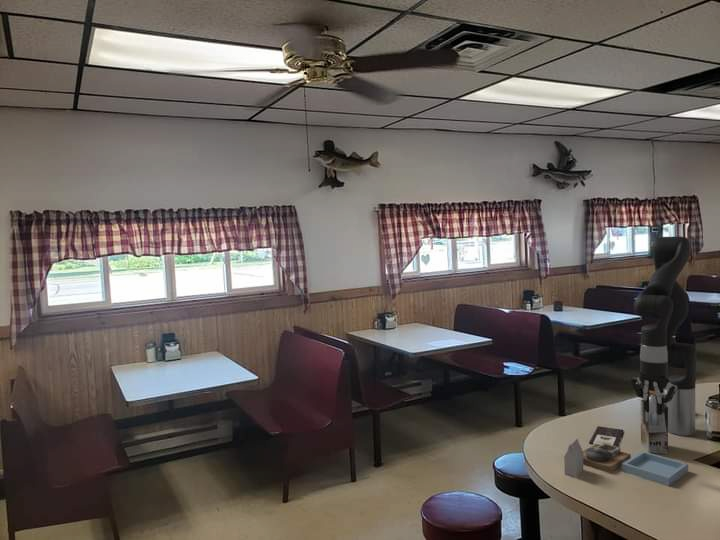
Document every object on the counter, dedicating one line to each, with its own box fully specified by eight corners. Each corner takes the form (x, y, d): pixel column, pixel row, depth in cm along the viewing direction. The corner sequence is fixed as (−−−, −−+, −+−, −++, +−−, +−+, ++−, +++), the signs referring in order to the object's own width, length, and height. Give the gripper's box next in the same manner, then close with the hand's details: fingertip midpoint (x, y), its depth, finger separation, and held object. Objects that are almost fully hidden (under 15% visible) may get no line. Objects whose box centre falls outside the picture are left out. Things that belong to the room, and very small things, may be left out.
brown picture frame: (623, 429, 208) (616, 446, 192) (623, 432, 208) (616, 449, 193) (597, 426, 212) (589, 442, 197) (597, 428, 212) (589, 445, 197)
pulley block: (596, 449, 192) (595, 435, 192) (630, 460, 183) (630, 445, 182) (574, 461, 183) (574, 447, 183) (609, 473, 174) (609, 457, 174)
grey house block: (583, 469, 177) (583, 439, 177) (576, 477, 172) (576, 446, 171) (571, 466, 180) (571, 437, 179) (564, 474, 174) (564, 443, 174)
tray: (642, 458, 184) (642, 451, 183) (688, 471, 173) (688, 464, 172) (622, 471, 175) (621, 463, 175) (668, 486, 164) (668, 478, 164)
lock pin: (651, 421, 175) (650, 387, 174) (661, 424, 172) (661, 389, 172) (646, 424, 173) (646, 389, 172) (657, 426, 170) (656, 392, 170)
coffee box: (668, 454, 186) (668, 407, 185) (648, 453, 187) (648, 407, 186) (659, 443, 195) (659, 398, 194) (640, 442, 196) (640, 398, 195)
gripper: (683, 360, 168) (683, 415, 169) (636, 353, 179) (637, 405, 180) (672, 364, 163) (672, 421, 165) (625, 357, 174) (625, 410, 176)
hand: (654, 412), depth 172 cm, fingers closed on lock pin, 3 cm apart
